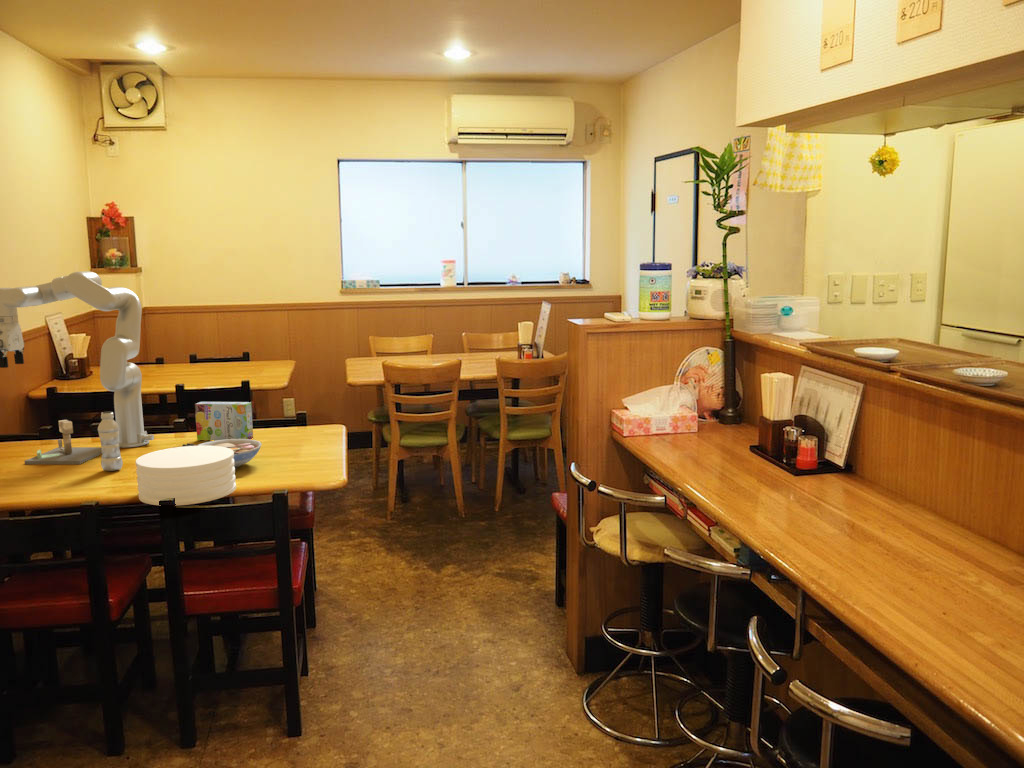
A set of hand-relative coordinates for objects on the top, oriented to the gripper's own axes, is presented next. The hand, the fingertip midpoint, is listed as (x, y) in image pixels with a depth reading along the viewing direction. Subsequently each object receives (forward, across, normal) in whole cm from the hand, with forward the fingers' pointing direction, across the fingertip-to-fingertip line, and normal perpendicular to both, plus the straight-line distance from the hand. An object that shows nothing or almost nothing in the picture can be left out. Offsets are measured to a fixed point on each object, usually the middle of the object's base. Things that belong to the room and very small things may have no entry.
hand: (11, 365), depth 319 cm
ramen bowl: (+31, -35, -94) cm, 105 cm away
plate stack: (+32, -64, -92) cm, 116 cm away
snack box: (+31, +5, -78) cm, 84 cm away
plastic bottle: (+31, -39, -55) cm, 75 cm away
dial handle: (+29, -19, -28) cm, 45 cm away
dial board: (+31, -20, -30) cm, 48 cm away
